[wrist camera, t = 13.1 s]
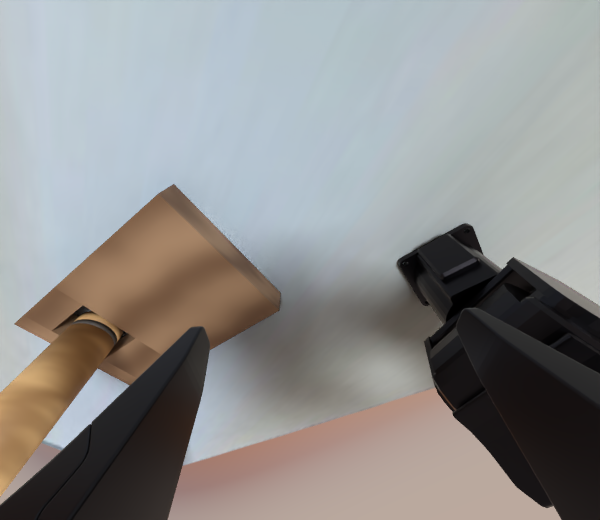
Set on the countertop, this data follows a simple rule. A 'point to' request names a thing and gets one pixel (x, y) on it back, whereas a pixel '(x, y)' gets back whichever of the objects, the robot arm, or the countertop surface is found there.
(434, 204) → the countertop surface
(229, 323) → the walnut board
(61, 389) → the oak peg
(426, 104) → the countertop surface
